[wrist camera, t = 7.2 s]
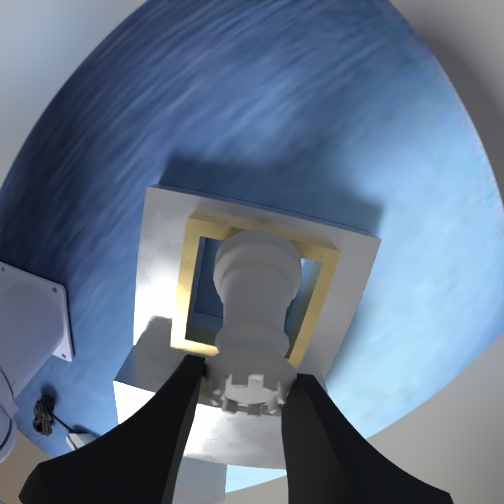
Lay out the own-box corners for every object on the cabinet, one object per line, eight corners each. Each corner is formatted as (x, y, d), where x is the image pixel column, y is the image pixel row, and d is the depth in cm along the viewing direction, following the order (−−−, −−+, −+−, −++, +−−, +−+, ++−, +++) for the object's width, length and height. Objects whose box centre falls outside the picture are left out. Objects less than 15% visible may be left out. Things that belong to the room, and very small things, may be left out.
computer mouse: (133, 479, 30) (127, 498, 26) (32, 410, 26) (20, 428, 22) (166, 468, 28) (161, 491, 24) (46, 386, 24) (31, 407, 20)
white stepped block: (142, 390, 22) (122, 439, 16) (157, 183, 17) (115, 194, 11) (292, 418, 23) (299, 469, 17) (369, 231, 18) (413, 261, 12)
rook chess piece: (260, 206, 13) (248, 343, 7) (317, 264, 15) (342, 402, 8) (198, 259, 15) (154, 390, 8) (256, 306, 17) (247, 434, 10)
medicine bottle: (162, 425, 24) (135, 524, 12) (229, 444, 25) (223, 543, 13) (153, 453, 26) (132, 534, 14) (210, 470, 27) (202, 551, 15)
